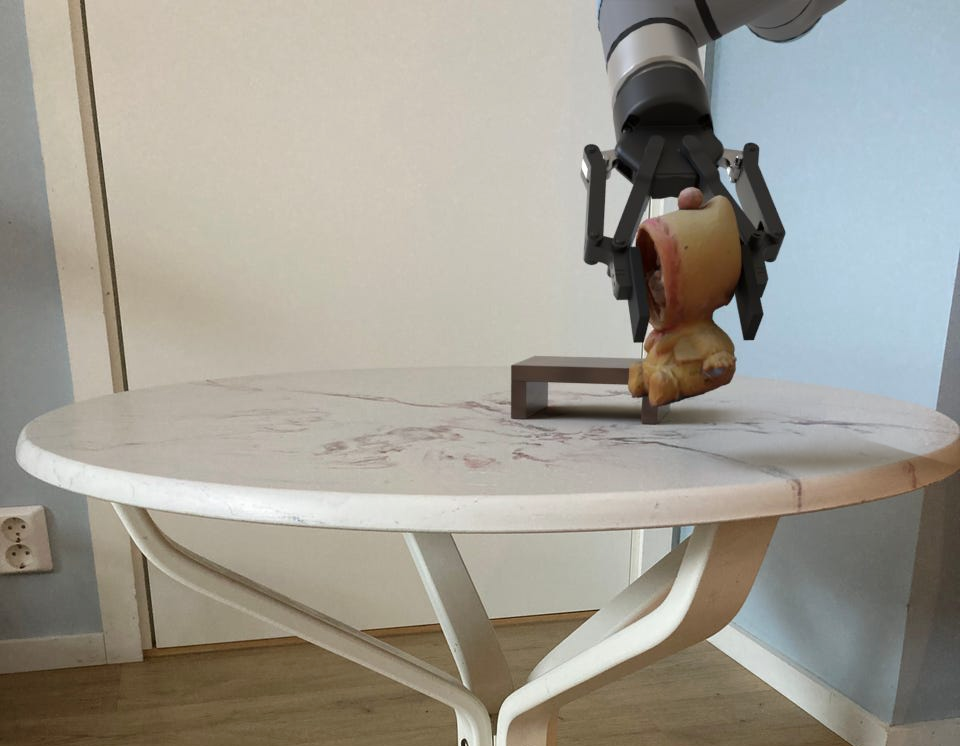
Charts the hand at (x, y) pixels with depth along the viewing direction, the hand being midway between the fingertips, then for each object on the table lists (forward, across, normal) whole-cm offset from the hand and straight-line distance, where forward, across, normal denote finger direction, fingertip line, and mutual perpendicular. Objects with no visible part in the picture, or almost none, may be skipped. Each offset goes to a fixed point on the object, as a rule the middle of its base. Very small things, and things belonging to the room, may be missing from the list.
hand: (697, 328), depth 78 cm
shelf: (-13, +3, -27) cm, 30 cm away
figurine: (+2, 0, -6) cm, 7 cm away
